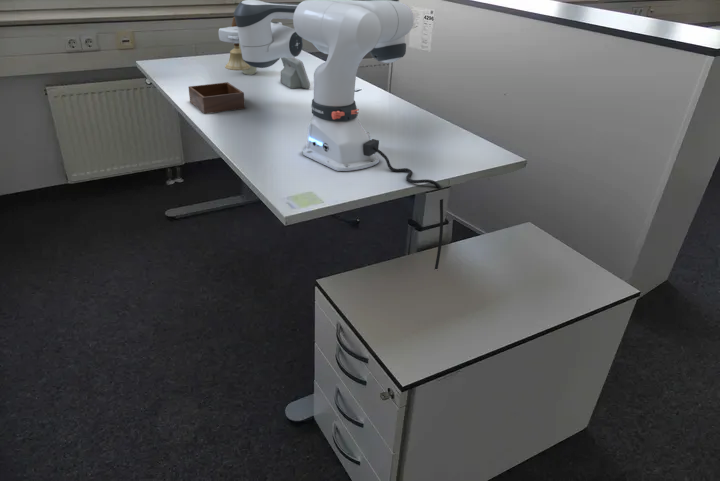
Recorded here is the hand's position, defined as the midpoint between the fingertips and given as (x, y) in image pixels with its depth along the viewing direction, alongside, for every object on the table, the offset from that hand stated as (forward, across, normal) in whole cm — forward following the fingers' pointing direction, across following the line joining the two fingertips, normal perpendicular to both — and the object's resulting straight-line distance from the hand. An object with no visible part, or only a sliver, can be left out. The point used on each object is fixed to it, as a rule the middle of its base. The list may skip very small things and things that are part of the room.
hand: (233, 28), depth 181 cm
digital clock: (+3, +30, -24) cm, 38 cm away
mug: (+27, +26, -24) cm, 44 cm away
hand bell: (-1, 0, -12) cm, 12 cm away
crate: (+1, -8, -24) cm, 25 cm away
